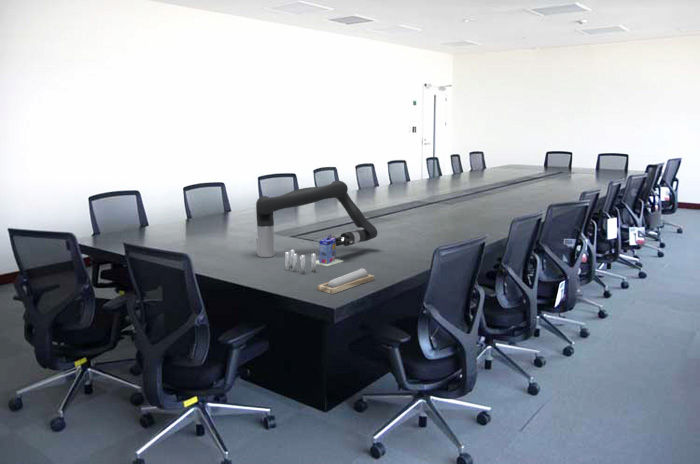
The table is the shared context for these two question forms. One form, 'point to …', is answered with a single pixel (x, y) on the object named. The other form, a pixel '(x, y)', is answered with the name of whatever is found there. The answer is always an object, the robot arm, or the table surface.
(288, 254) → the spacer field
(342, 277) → the tube
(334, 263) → the sage mat
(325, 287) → the tube rest
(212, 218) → the table surface
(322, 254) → the ink cartridge box
